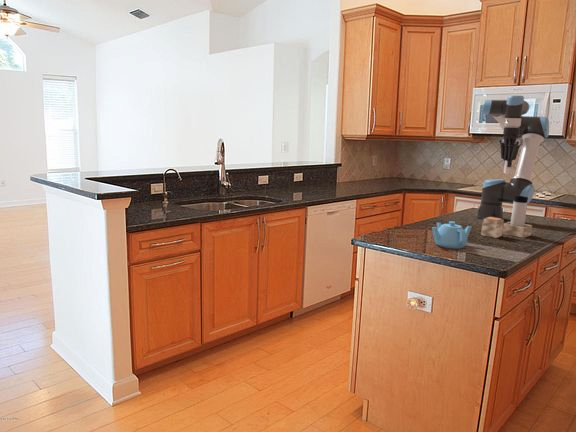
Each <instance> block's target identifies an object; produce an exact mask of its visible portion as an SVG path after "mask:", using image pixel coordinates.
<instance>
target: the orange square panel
mask: <svg viewBox="0 0 576 432" xmlns="http://www.w3.org/2000/svg"><path fill="white" fill-rule="evenodd" d="M485 220H491V221H497V222H498V221H501V219H500V218H494V217H488V218H485Z"/></svg>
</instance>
